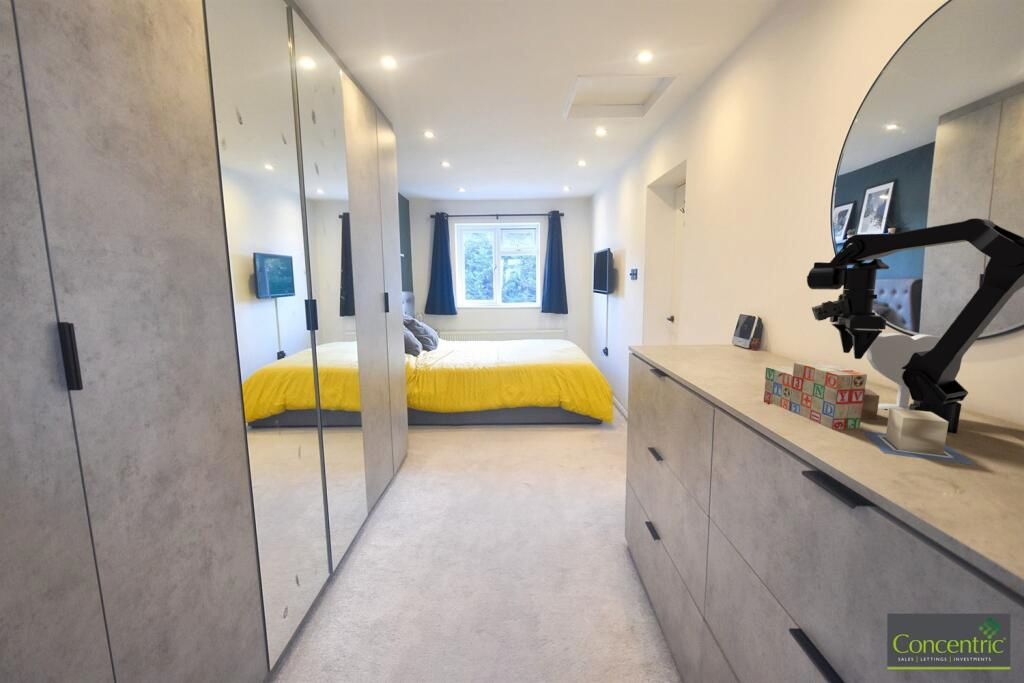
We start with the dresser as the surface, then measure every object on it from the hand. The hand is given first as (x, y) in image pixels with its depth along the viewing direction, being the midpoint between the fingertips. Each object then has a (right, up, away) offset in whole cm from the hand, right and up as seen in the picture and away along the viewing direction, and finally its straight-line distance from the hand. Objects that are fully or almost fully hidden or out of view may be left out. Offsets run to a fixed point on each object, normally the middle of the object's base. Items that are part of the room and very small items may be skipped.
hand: (851, 355), depth 100 cm
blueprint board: (-8, -16, -23) cm, 29 cm away
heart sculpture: (+13, -13, +1) cm, 18 cm away
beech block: (-8, -16, -23) cm, 29 cm away
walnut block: (-3, -14, -4) cm, 15 cm away
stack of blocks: (-13, -14, -4) cm, 20 cm away
